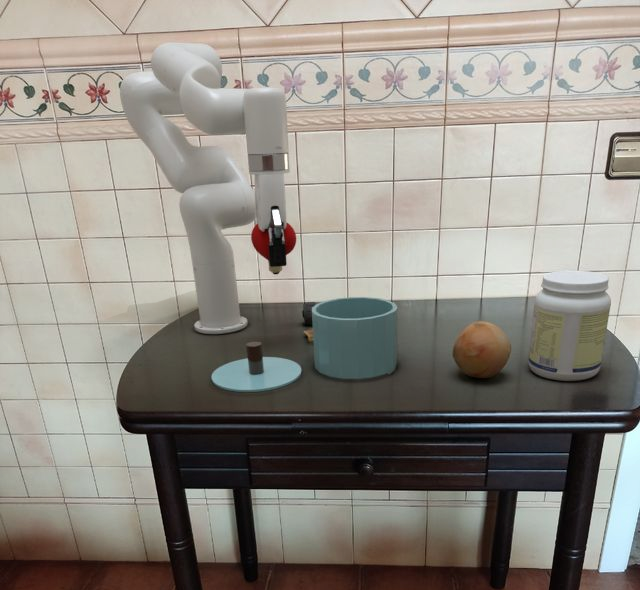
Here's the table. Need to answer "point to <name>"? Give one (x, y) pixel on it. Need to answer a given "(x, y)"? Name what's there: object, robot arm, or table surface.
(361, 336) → the pot
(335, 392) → the table surface
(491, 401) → the table surface
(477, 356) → the onion
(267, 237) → the red rounded piece
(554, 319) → the supplement tub
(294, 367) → the lid
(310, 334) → the shard
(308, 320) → the flashlight
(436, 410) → the table surface
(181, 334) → the table surface
